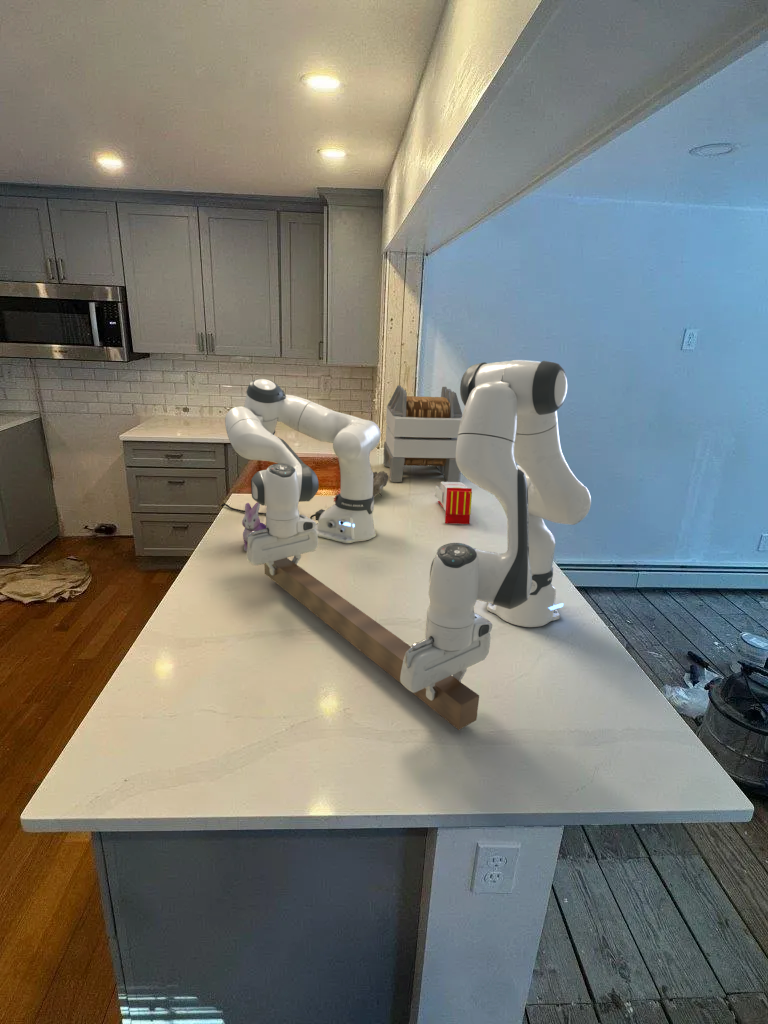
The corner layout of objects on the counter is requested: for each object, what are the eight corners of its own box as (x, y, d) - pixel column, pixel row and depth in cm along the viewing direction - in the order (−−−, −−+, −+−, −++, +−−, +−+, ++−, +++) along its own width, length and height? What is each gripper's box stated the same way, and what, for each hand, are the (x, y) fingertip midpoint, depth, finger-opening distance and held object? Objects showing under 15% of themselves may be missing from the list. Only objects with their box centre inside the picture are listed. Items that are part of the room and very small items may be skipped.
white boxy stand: (382, 463, 289) (386, 382, 275) (445, 464, 293) (451, 384, 279) (390, 482, 257) (394, 392, 243) (460, 483, 261) (468, 394, 247)
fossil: (357, 477, 248) (384, 458, 243) (370, 494, 251) (397, 476, 246) (349, 498, 228) (379, 478, 223) (364, 515, 231) (393, 496, 226)
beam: (264, 573, 161) (264, 555, 159) (279, 569, 164) (279, 552, 162) (458, 730, 104) (461, 705, 102) (476, 720, 107) (479, 695, 105)
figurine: (246, 555, 177) (244, 510, 172) (238, 543, 186) (236, 499, 181) (275, 550, 181) (274, 506, 176) (266, 539, 190) (265, 496, 185)
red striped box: (463, 477, 236) (476, 489, 206) (461, 509, 239) (474, 525, 209) (433, 476, 235) (443, 488, 206) (432, 508, 238) (441, 524, 209)
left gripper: (252, 536, 144) (253, 585, 148) (321, 521, 156) (320, 567, 160) (241, 528, 148) (243, 576, 153) (309, 514, 160) (309, 559, 165)
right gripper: (418, 656, 97) (413, 722, 101) (498, 621, 109) (490, 682, 113) (395, 639, 101) (391, 702, 106) (474, 607, 113) (468, 666, 118)
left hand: (283, 571), depth 157 cm, fingers closed on beam, 5 cm apart
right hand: (443, 691), depth 110 cm, fingers closed on beam, 5 cm apart
